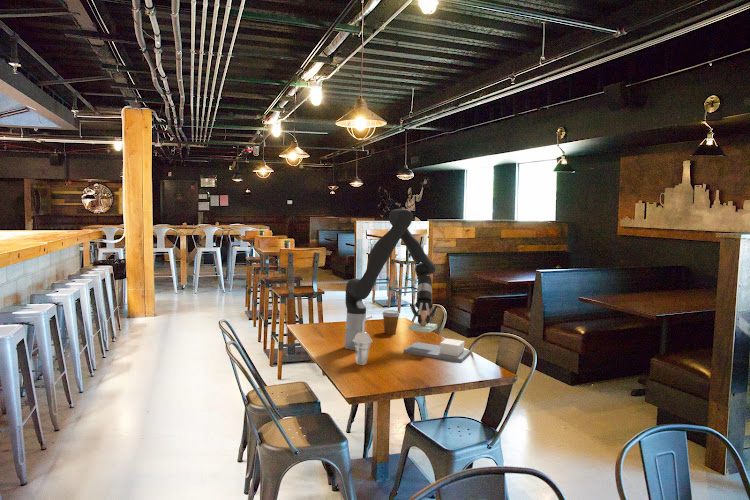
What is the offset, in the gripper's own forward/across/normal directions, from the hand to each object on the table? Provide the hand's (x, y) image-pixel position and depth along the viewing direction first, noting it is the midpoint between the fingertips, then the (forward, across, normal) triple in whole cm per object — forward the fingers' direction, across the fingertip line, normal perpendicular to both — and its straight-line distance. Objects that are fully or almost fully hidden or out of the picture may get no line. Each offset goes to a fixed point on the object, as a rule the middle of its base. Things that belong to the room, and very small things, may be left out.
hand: (423, 323), depth 240 cm
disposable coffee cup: (-14, -17, +35) cm, 41 cm away
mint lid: (+1, 0, +4) cm, 4 cm away
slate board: (+11, +7, +9) cm, 16 cm away
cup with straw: (+29, -26, -9) cm, 40 cm away
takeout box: (+11, +14, +7) cm, 19 cm away
